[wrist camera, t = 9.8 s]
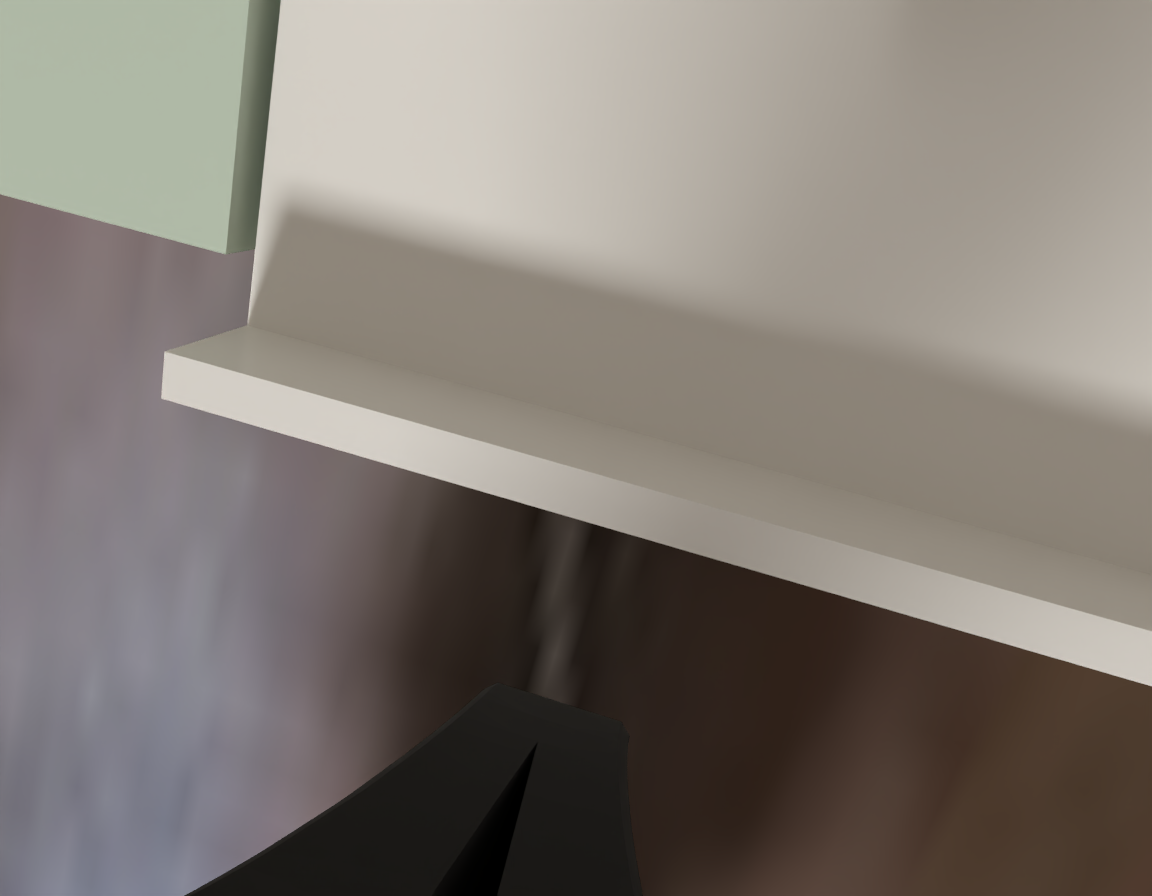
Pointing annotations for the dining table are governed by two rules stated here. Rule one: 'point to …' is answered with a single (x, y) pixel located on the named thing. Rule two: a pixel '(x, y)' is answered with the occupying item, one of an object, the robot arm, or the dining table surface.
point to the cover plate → (140, 112)
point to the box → (734, 285)
